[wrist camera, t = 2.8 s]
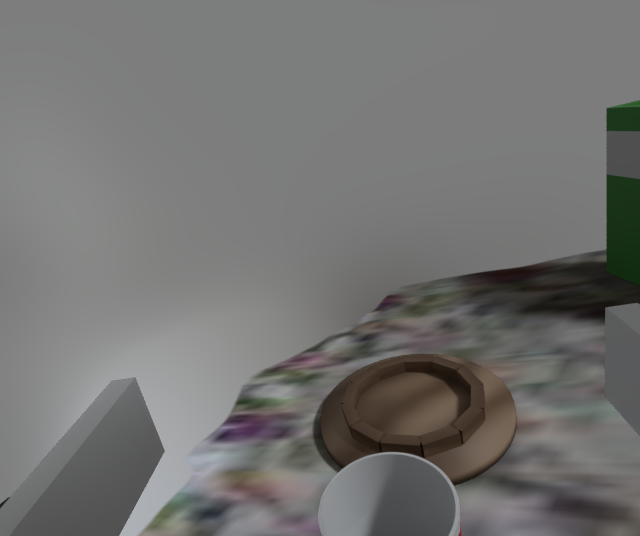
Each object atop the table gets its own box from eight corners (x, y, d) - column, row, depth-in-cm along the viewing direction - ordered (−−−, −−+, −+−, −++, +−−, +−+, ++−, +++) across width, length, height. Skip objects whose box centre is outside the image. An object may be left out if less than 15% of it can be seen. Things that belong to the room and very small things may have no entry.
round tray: (552, 394, 45) (551, 374, 44) (438, 534, 34) (434, 510, 33) (399, 345, 60) (397, 329, 59) (285, 430, 49) (280, 412, 48)
